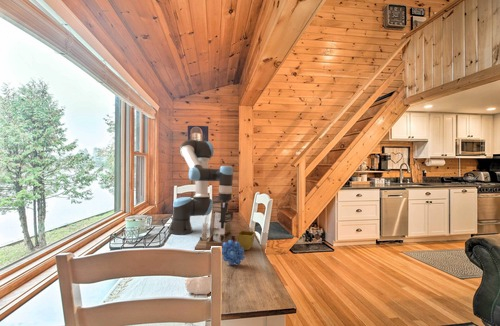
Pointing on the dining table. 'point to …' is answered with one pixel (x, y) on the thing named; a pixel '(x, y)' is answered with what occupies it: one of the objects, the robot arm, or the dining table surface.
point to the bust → (198, 285)
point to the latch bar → (204, 231)
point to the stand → (210, 243)
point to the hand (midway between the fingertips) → (222, 231)
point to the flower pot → (246, 239)
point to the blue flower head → (232, 252)
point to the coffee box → (228, 227)
